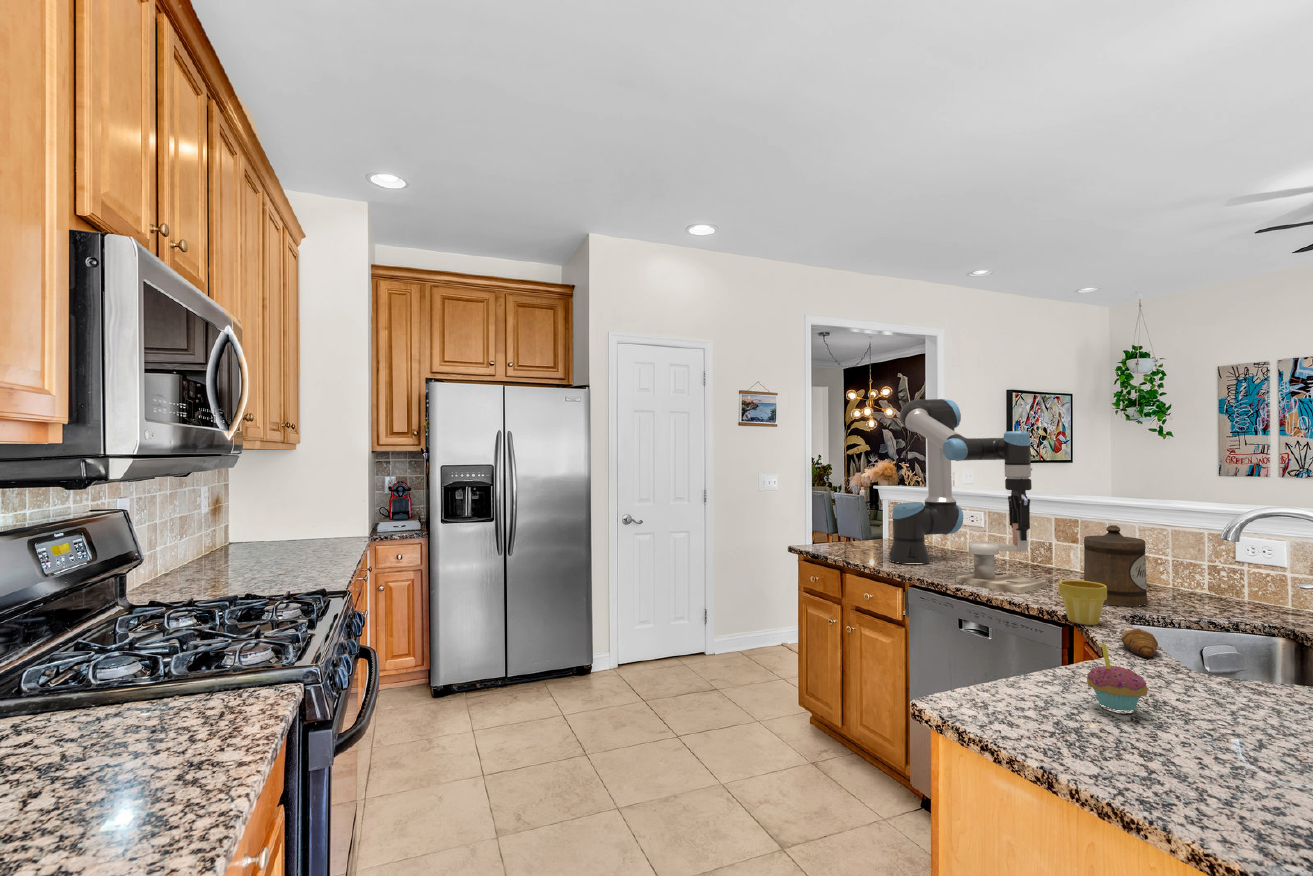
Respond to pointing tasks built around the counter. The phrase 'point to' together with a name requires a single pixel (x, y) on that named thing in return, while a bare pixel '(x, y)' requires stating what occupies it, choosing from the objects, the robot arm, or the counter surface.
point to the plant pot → (1083, 600)
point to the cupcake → (1116, 685)
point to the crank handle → (994, 545)
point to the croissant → (1140, 642)
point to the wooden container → (1117, 566)
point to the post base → (998, 577)
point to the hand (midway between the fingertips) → (1020, 549)
